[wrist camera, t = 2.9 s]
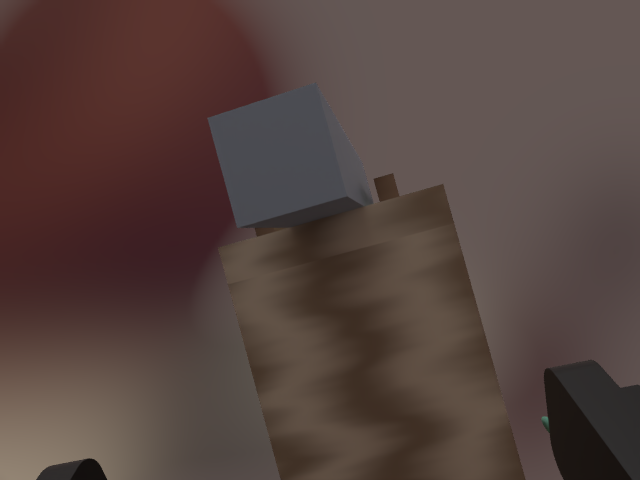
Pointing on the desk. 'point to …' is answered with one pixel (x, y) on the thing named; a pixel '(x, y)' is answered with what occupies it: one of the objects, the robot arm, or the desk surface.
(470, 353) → the zigzag patterned block
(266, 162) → the bar
